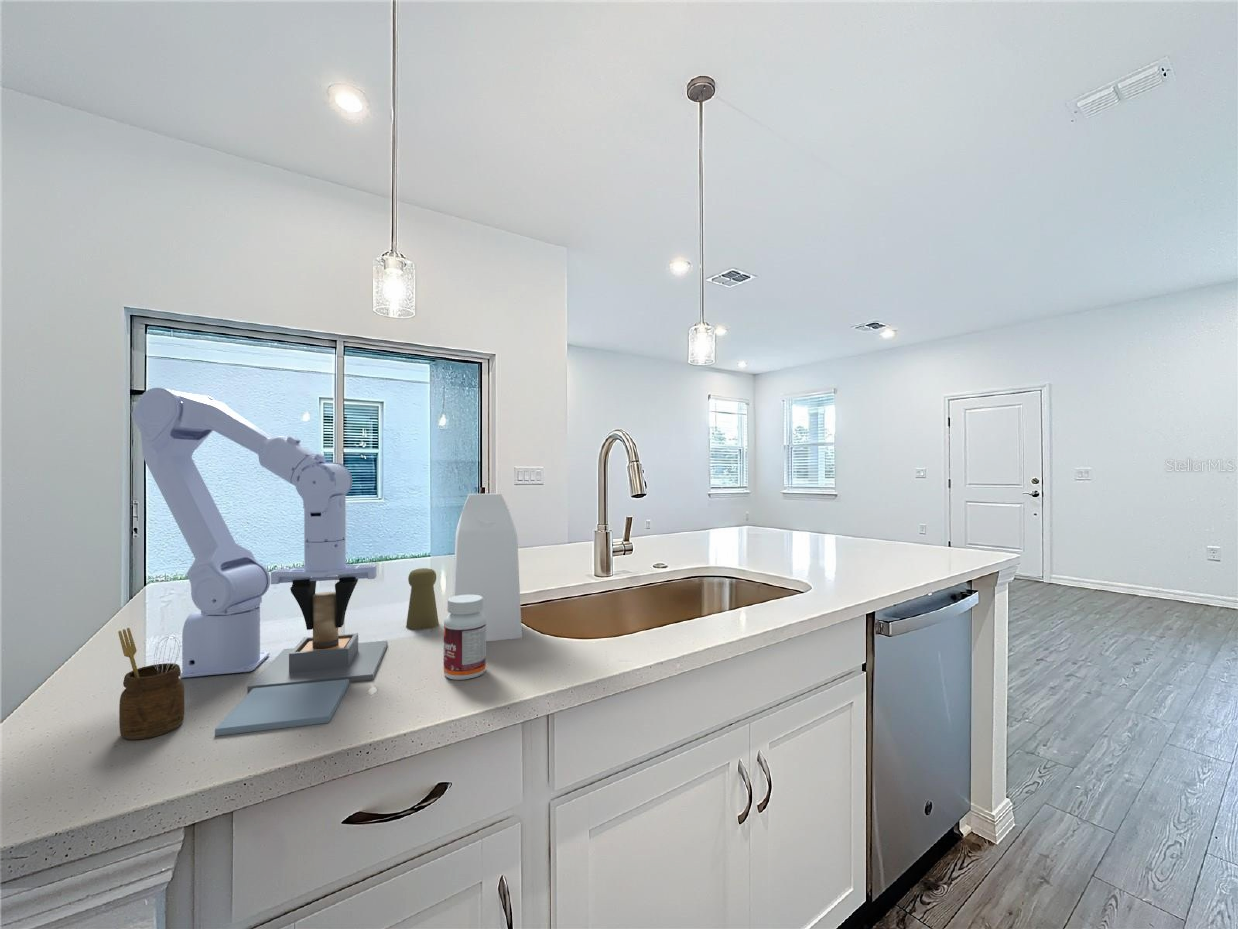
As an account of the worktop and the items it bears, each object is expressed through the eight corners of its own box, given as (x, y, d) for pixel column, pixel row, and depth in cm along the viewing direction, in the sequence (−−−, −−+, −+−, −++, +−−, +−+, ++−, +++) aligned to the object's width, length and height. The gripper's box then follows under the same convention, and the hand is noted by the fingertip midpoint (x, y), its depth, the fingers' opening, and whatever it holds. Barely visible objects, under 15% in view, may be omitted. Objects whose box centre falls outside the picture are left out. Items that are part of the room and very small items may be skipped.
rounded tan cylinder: (309, 650, 84) (309, 597, 84) (315, 642, 87) (315, 592, 87) (335, 648, 85) (335, 596, 85) (340, 640, 88) (340, 591, 88)
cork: (428, 630, 104) (428, 572, 104) (399, 628, 105) (399, 571, 105) (444, 621, 110) (444, 566, 110) (417, 620, 111) (417, 565, 111)
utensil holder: (161, 740, 63) (160, 635, 63) (102, 743, 62) (101, 637, 62) (196, 716, 69) (196, 620, 69) (142, 719, 68) (142, 622, 68)
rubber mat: (214, 735, 64) (214, 729, 64) (253, 694, 75) (253, 688, 75) (329, 722, 67) (329, 716, 67) (349, 684, 79) (349, 679, 79)
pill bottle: (436, 672, 83) (436, 598, 83) (473, 662, 87) (473, 591, 87) (455, 684, 79) (455, 605, 79) (493, 673, 83) (493, 598, 83)
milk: (513, 620, 111) (513, 491, 111) (521, 637, 100) (521, 494, 100) (451, 626, 107) (451, 492, 107) (452, 644, 96) (452, 496, 96)
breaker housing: (247, 692, 76) (247, 666, 76) (284, 653, 92) (284, 632, 92) (372, 679, 80) (372, 655, 80) (387, 645, 96) (387, 624, 96)
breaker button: (298, 667, 82) (298, 653, 82) (309, 653, 88) (309, 641, 88) (342, 663, 84) (342, 649, 84) (350, 650, 90) (350, 637, 90)
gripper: (263, 545, 80) (263, 638, 80) (371, 541, 84) (371, 630, 84) (279, 539, 87) (279, 625, 87) (378, 535, 91) (378, 618, 91)
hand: (325, 627), depth 86 cm, fingers closed on rounded tan cylinder, 3 cm apart
